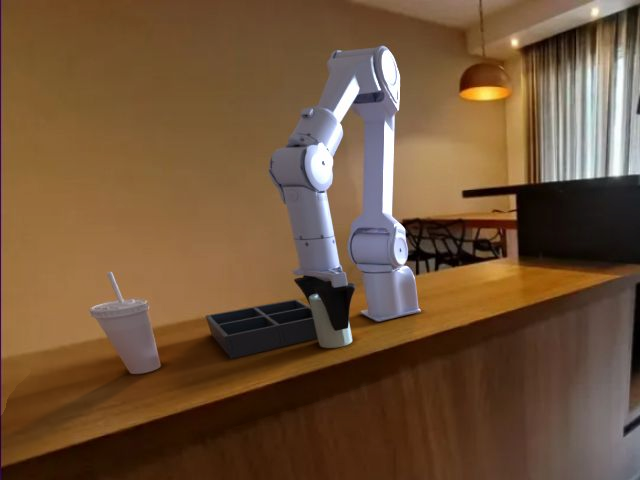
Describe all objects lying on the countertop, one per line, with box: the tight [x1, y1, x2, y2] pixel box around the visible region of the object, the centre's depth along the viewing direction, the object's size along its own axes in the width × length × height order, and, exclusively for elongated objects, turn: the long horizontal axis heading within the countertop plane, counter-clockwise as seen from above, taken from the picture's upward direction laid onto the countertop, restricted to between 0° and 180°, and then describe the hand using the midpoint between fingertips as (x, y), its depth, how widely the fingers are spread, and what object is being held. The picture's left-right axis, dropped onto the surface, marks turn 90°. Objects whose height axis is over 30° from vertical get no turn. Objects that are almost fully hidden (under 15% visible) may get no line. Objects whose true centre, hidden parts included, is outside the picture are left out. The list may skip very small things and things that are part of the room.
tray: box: [205, 299, 318, 360], centre depth 76 cm, size 15×15×4 cm
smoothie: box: [88, 271, 162, 375], centre depth 62 cm, size 6×6×14 cm
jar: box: [309, 293, 353, 349], centre depth 72 cm, size 5×5×8 cm
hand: (331, 323), depth 72 cm, fingers open, 7 cm apart
